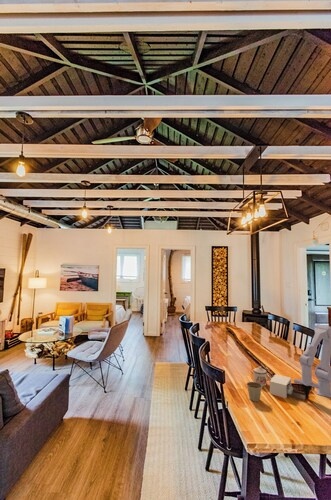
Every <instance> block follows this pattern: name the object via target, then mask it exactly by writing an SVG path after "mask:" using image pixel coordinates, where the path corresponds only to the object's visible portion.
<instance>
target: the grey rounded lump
mask: <svg viewBox="0 0 331 500" xmlns="http://www.w3.org/2000/svg"><path fill="white" fill-rule="evenodd" d="M287 394H290V395H292V389H290V388H287Z"/></svg>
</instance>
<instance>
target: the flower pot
mask: <svg viewBox="0 0 331 500" xmlns="http://www.w3.org/2000/svg"><path fill="white" fill-rule="evenodd" d="M246 386H247V391H248V398H249V400H250V401H253V402H259V401H260V400H261V393H262V389H263V386H262V385H261V384H260V383H257V382H254V381H248V382H246Z"/></svg>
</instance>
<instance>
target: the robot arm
mask: <svg viewBox="0 0 331 500" xmlns="http://www.w3.org/2000/svg"><path fill="white" fill-rule="evenodd" d="M313 330H314V335H313V337H312V341H311V343H310V344H308V345H307V347H306V349H305V351H304V352H303V354H301V355H300V356H299V359H298V361H299V363H300V367H301V368H300V369H301V379H298V378H293V383H294V384H299V385H301V387H302V390H303V392H305V396H306V399H309V396H310V393H311V390H312V388H316V389H317V392H316V395H319V396H323V397H326V398H331V366H330V364H331V363H330V362H331V326H328V325H324V324H320V323H317V324H316V325H315V327H314V329H313ZM321 341H322V347H321V354H320V361H319V363H318V364H316V366H315V370H314V376H315V377H316V379H317V383H315V382H313V371H312V370H313V369H312V368H313V367H312V366H313V365H314V364H315V356H316V354H317V352H318V348H317V347H318V346H319V344H320V343H321Z"/></svg>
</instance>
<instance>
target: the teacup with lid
mask: <svg viewBox="0 0 331 500" xmlns="http://www.w3.org/2000/svg"><path fill="white" fill-rule="evenodd" d="M252 371H253V382H257V383H260V384H261V385H262V387H265V386H267V383H268V382H267V381H270V380H271V379H272V375H271V373H270V372H269V373H268V372H267V370H266V369H264V368H262V366H260V365H259V366H258V367H256V368H253V369H252ZM267 375H268V378H267Z"/></svg>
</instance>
